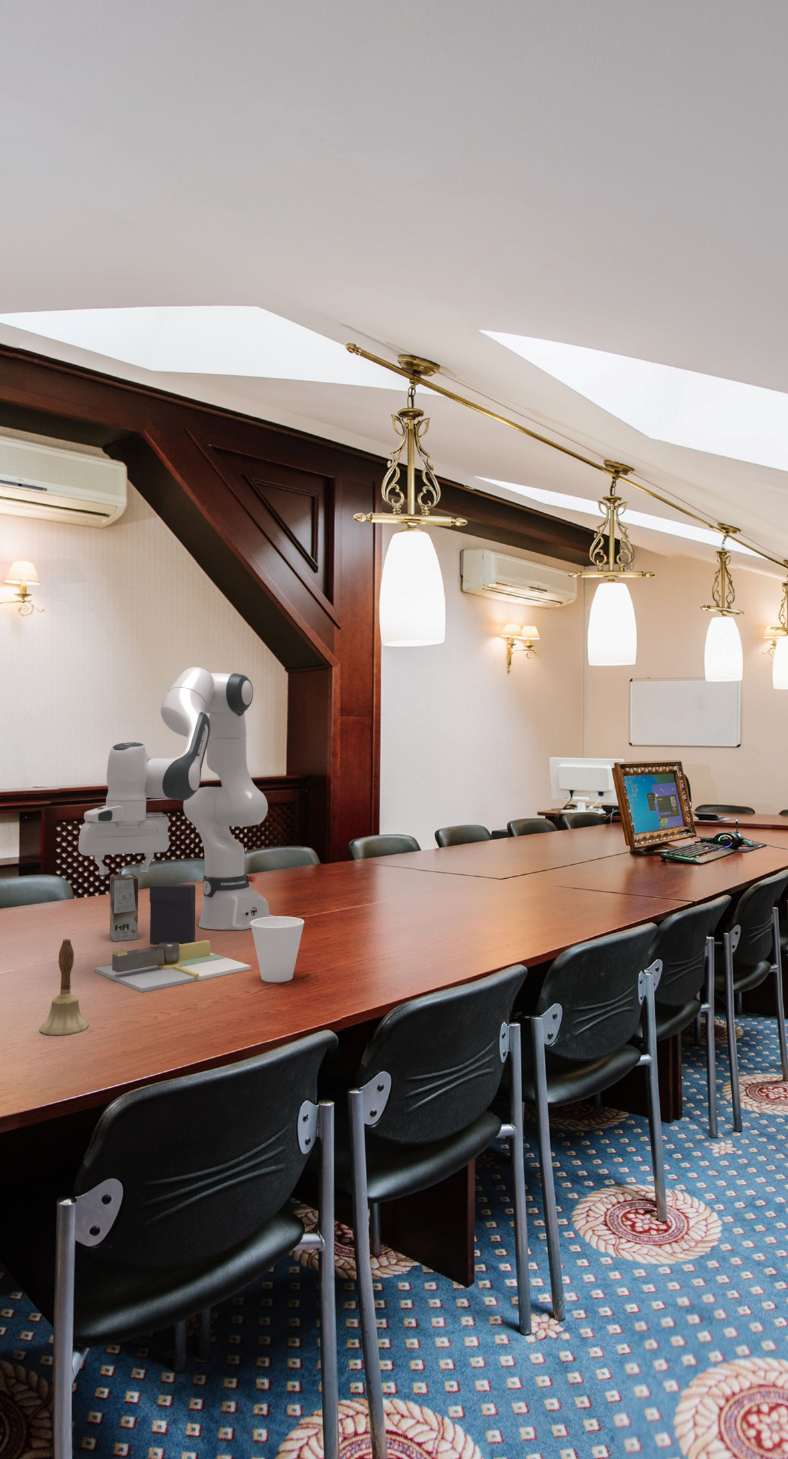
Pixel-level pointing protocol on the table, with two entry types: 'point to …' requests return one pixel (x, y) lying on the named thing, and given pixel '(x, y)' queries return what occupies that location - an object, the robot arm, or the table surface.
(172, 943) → the bar
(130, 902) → the coffee box
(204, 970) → the base
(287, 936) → the cup
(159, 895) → the dark blue box
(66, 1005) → the hand bell
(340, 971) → the table surface
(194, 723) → the robot arm
